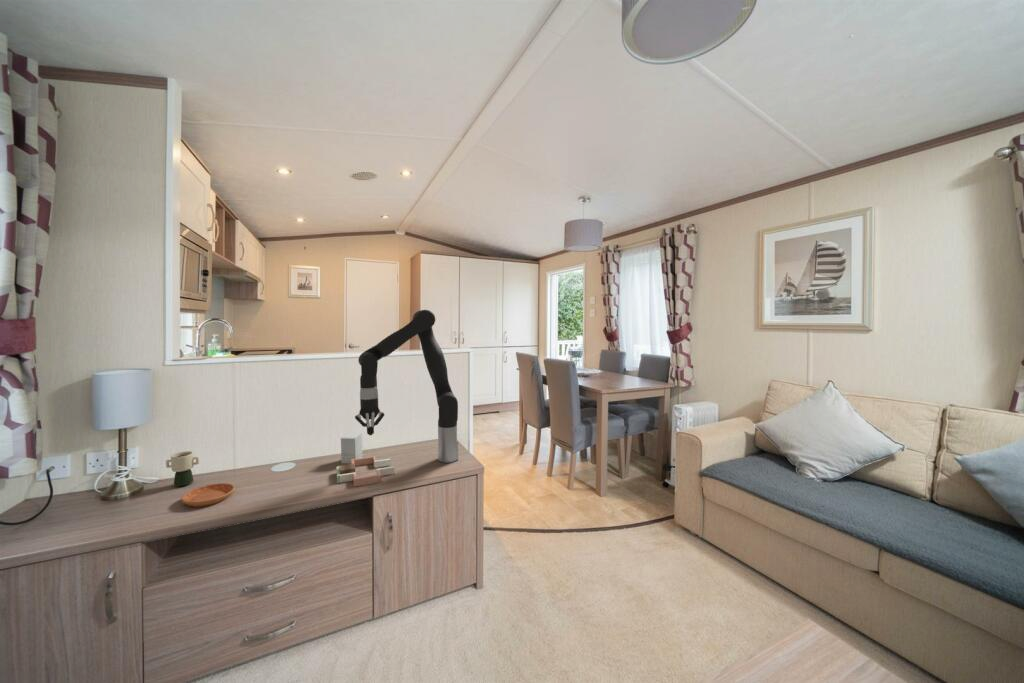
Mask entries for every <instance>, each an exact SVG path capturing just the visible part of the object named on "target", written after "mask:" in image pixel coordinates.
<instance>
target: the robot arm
mask: <svg viewBox="0 0 1024 683" xmlns="http://www.w3.org/2000/svg"><path fill="white" fill-rule="evenodd" d="M435 323H436V316H435V313H434V312H432V311H431V310H428V309H421V310H420V309H419V310H418V311H416V312H414V314H413V316H412V320H411V321H410V322H409V323H407V324H406V325H404V326H403V327H401V328H400V329H398V330H396V331H394V332H393V333H391V334H390V335H388V336H386V337H385V338H383V339H382V340H381V341H379V342H378V343H377V344H375V345H374V346H371V347H370V348H368V349H366V350H365V351H363V352H362V353H361V354H359V357H358V360H357V361H358V364H359V366H360V368H361V371H360V372H361V375H360V377H359V378H360V379H359V381H360V382H359V383H360V384H359V385H360V388H359V389H360V390H359V399H360V400H359V403H360V404H359V406H360V410H359V413H358V414H356V415H355V416H354V419H355V420H356V421H357V422H358V423H359V424H360V425H361V426H362V428H364V427H365V428H366V433H367V435H368V436H373V434H375V429H374V428H375V426H378V424H379V423H380V422H381V420H382V419H383V418H384V417H385V413H384V412H382V411H381V410H380V407H379V391H378V376H377V374H378V364H379V362H378V361H380V360H381V359H382V358H385V357H387V356H389V355H390V354H392V353H394V352H395V351H396V350H398V349H399V348H400V347H402V345H404V344H406V343H407V341H410V339H413V338H414V337H415V336H418V339H419V342H420V346H421V350H422V354H423V358H424V362H425V365H426V366H425V367H426V370H427V371H428V374H429V376H430V379H431V381H432V384H433V386H434V387H433V388H434V390H435V396H436V403H437V406H438V420H437V449H438V450H437V461H438V462H440V463H447V464H448V463H453V462H456V461H458V460H459V440H458V419H459V418H458V417H459V403H458V402H459V401H458V399H457V397H456V396H455V395H454V393H453V390H452V388H451V385H450V382H449V376H448V367H447V362H446V359H445V355H444V353H443V350H442V348H441V347H440V345H439V343H438V341H437V339H436V337H435V334H434V330H433V326H434V325H435ZM376 417H377V418H376ZM362 418H363V419H364V420H365V422H364V420H362ZM375 419H376V420H375Z"/></svg>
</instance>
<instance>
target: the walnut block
mask: <svg viewBox="0 0 1024 683" xmlns="http://www.w3.org/2000/svg"><path fill="white" fill-rule="evenodd" d="M339 466H340V475H341V474H347V473H354V472H356V466H355V464H342V465H341V464H340V465H339Z"/></svg>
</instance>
